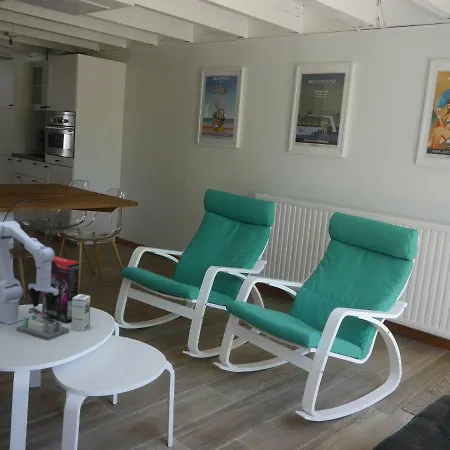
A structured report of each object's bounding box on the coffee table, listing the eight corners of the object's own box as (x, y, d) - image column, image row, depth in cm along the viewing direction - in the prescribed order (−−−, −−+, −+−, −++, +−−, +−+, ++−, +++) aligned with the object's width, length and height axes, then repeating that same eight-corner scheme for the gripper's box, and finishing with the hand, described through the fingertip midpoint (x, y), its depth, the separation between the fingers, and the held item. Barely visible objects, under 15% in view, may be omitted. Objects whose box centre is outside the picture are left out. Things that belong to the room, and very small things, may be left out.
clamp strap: (27, 312, 222) (29, 308, 222) (32, 311, 225) (34, 306, 224) (52, 328, 217) (53, 323, 216) (57, 327, 219) (58, 322, 219)
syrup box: (83, 331, 226) (85, 298, 224) (71, 329, 227) (72, 297, 225) (89, 327, 231) (91, 295, 229) (77, 325, 232) (78, 293, 230)
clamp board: (16, 330, 221) (16, 318, 220) (38, 322, 231) (38, 311, 231) (48, 340, 213) (48, 327, 212) (69, 332, 223) (69, 320, 223)
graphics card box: (40, 315, 241) (42, 257, 237) (52, 311, 247) (54, 255, 243) (66, 324, 233) (68, 264, 229) (78, 320, 239) (80, 261, 235)
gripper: (23, 275, 217) (22, 307, 219) (50, 282, 212) (49, 314, 214) (35, 272, 224) (35, 303, 226) (62, 278, 218) (61, 309, 220)
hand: (42, 308), depth 220 cm, fingers open, 7 cm apart
